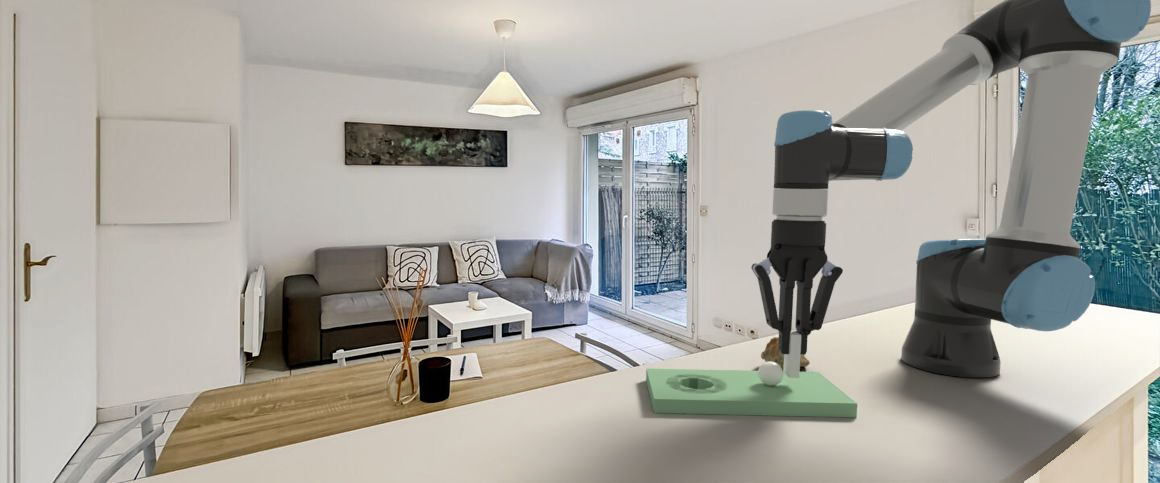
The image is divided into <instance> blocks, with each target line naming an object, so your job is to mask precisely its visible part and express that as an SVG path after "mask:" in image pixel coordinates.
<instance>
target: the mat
mask: <svg viewBox="0 0 1160 483" xmlns="http://www.w3.org/2000/svg"><path fill="white" fill-rule="evenodd" d="M645 370H646V371H645V373H646V374H645V382H646V386H647V390H648V394H649V398H650V403H651V406H653V407H652V409H653V410H654V411H653V413H654V412H655V413H654V414H683V413H684V414H689V415H690V414H691V415H693V414H694V415H732V416H733V415H734V416H735V415H736V416H773V417H775V416H777V417H780V416H781V417H818V418H824V417H825V418H857V414H858V403H857V402H856V401H855V400H854V399H852V397H850V396H849V395H848V394H846V393H845V392H844V391H843V390H841V389H840V388H839V387H838V386H837V385H835V384H834V383H833V382H831V381H830V380H829V379H828V378H827V377H825V375H824V374H822V373H820V371H800V373H799V378H789V377H788V376H787V375H786V374H785V373H784V372H783V379H782V381H781V382H780V383H779V384H777V385H775V386H769V385H766V384H764V383H763V382H762V381H761V380H760V378H759V376H758V370H736V369H735V370H732V369H692V368H691V369H686V368H684V369H683V368H678V369H677V368H645Z"/></svg>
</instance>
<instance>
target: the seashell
mask: <svg viewBox="0 0 1160 483" xmlns="http://www.w3.org/2000/svg"><path fill="white" fill-rule="evenodd" d="M778 342H779V336H778V337H776V336H775V337H774V336H773V337H772V338H771V339H770V340H769V342H767V343H766V345H765V349H764V350H763V351H762V352H761V354H760V358H761V359H762V360H764V361H765V362H768V361H771V362H775V363H777V364H778V365H779V366H780V367H781V368H782V370H783V368H784V354H782V353H781V352H779V349H778ZM765 362H764V363H765ZM810 364H811V361H810V360H809V359H808V358H806V355H803V354H800V368H801V367H808V366H809V365H810Z"/></svg>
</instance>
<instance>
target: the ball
mask: <svg viewBox="0 0 1160 483" xmlns="http://www.w3.org/2000/svg"><path fill="white" fill-rule="evenodd" d="M757 371H758V376H759V378H760V380H761V381H762V382H763V383H764V384H766V385H769V386H775V385H777V384H779V383H780V382H781V381H782V379H783V370H782V368H781V367H780V366H779V365H778V364H777V363H775V362H771V361H768V362H763V363H762V364H760V366H759V367H758V370H757Z"/></svg>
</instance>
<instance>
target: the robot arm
mask: <svg viewBox="0 0 1160 483" xmlns="http://www.w3.org/2000/svg"><path fill="white" fill-rule="evenodd" d="M1151 13H1152V1H1151V0H1003V1H1001V2H999V3H998V4H996V5H995V6H993V7H992V8H990V9H989V10H987V11H986V12H985V13H983V14H981V15H980V16H979V17H977V18H976V19H974V20H973V21H971V22H970V23H969V24H968V25H966V26H964V27H963V28H962V29H960V30H959V31H958V32H956V33H954V34H953V35H952V36H950V37H949V38H948V39H946V40H945V42H944V43H943V45H942V46H941V50H939V51H938V52H937V53H935V54H934V55H933V56H931V57H930V58H928V59H926V60H925V61H924V62H922V63H921V64H919V65H918V66H916V67H915V68H913V69H912V70H910V71H909V72H907V73H905V74H904V75H902V76H901V77H900V78H898V79H897V80H896V81H894V82H893V83H891V84H890V85H888V86H886V87H885V88H884V89H882V90H880V91H879V92H878V93H876V94H875V95H873V96H871V97H870V98H869V99H867V100H866V101H864V102H863V103H862V104H860V105H859V106H857V107H856V108H853V110H851V111H849V112H848V113H846V114H845V115H843V116H842V117H840V118H839V119H838V120H836V121H834V122H833V117H832V114H831V113H830V112H829V111H826V110H824V111H823V110H820V109H819V110H818V109H817V110H815V109H814V110H813V109H807V110H805V109H804V110H793V111H788V112H785V113H783V114H781V115H780V116H779V117H778V120H777V124H776V128H775V137H774V138H775V140H774V145H773V146H774V169H773V170H774V175H773V176H774V177H773V194H772V196H773V197H772V198H773V199H772V215H773V216H774V217H776V218H774V219H773V221H771V233H770V234H771V235H770V249H769V250H768V252H767V255H766V258H765V259H763V260H762V261H760V262H758V263H756V262H755V263H752V265H751V266H750V267H751V270H752V272H753V274H754V275H755V277H756V279H757V282H758V287H759V292H760V297H761V302H762V305H763V306H762V308H763V311H764V316H765V321H766V325H768V326H769V327H770V328H771V329H773V330H776V331H778V337H779V342H778V349H779V352H781V353H782V354H784V368H783V372H784V373H785V374H786V375H787V376H788V377H789V378H799V373H800V372H801V371H800V369H801V367H800V354H803V355H804V356H806V354H807V351H808V339H809V338H808V337H809V336H810V335H811V333H812V332H813V331H820V330H821V329H822V327H823V325H824V321H825V318H826V314H827V311H828V308H829V304H830V301H831V296H832V294H833V291H834V288H835V285H836V282H838V280H839V278H840V277H841V275H842V274H843V271H844V270H843V268H842V267H841V266H836V265H835V264H833V263H832V262H831V261H829V260H828V254H827V252H826V250H825V248H826V236H827V234H826V233H827V223H826V221H825V220H823V218H824V217H827V216H828V195H829V194H828V193H829V183H830V182H831V181H832V182H833V181H857V180H860V181H861V180H862V181H864V180H869V181H870V180H873V181H876V182H878V181H881V182H882V181H884V180H885V181H887V180H888V181H889V180H891V181H892V180H897V179H899V178H901V177H902V176H904V175H905V173H906V172H907V171H908V170H909V168H910V166H911V164H912V162H913V150H914V147H913V143H912V140H911V138H910V136H909V135H908V134H907V133H906V132H905V131H903V130H904V129H905V128H907V127H908V126H910V125H912V124H913V123H914V122H916V121H918V120H919V119H920V118H922V117H923V116H925V115H927V114H928V113H929V112H931V111H932V110H934V109H936V108H937V107H938V106H939V105H942V104H943V103H944V102H945V101H947V100H950V98H952V97H953V96H955V95H957V93H960V92H961V91H962V90H963V89H965V88H967V87H968V86H977V85H981V84H982V83H984V82H986V81H988V80H989V79H990V78H992V77H994V76H996V75H999V74H1001V73H1003V72H1007V71H1008V70H1012V69H1015V68H1019V69H1020V70H1022V72H1024V74H1026V75H1027V82H1026V85H1025V92H1024V98H1023V102H1022V107H1021V114H1020V119H1019V125H1018V129H1017V134H1016V139H1015V145H1014V151H1013V157H1012V161H1011V166H1010V171H1009V177H1008V183H1007V188H1006V191H1005V192H1006V193H1005V198H1004V203H1003V207H1002V208H1003V209H1002V213H1001V219H1000V225H999V226H998V227H997V228H996V229H994V230H993V231H991V232H990V233H988V234H987V235H986V236H985V237H986V238H959V239H958V238H957V239H954V238H953V239H936V240H935V239H934V240H926V241H924V242H923V243H921V245H920V246H919V249H918V253H917V254H918V256H917V259H916V279H915V299H914V300H915V301H914V302H915V305H914V315H913V316H914V317H913V322H912V324H911V326H910V327H909V328H910V329H909V331H908V333H907V335H906V337H905V340H904V342H903V344H902V346H901V356H900V359H901V361H902V362H903V363H905V364H906V365H908V366H910V367H913V368H915V369H919V370H922V371H925V372H929V373H935V374H940V375H944V376H945V375H946V376H952V377H960V378H971V379H972V378H973V379H974V378H975V379H977V378H978V379H979V378H982V379H983V378H993V377H997V376H999V375H1000V374H1001V364H1002V362H1001V358H1000V354H999V351H998V348H997V345H996V340H995V339H994V335H993V332H992V328H991V327H992V321H997V322H1000V323H1004V324H1008V325H1011V326H1012V327H1014V328H1017V329H1024V330H1033V331H1038V332H1054V331H1058V330H1062V329H1064V328H1066V327H1069V326H1070V325H1071V324H1072V323H1073V322H1076V321H1077V320H1079V319H1080V318H1081V317H1082V316H1083V315H1084V313H1086V311H1087V310H1088V308H1090V305H1091V304H1092V303H1091V302H1092V301H1093V298H1094V295H1095V291H1096V281H1095V280H1096V279H1095V276H1094V275H1093V274H1092V270H1091V268H1090V266H1089V265H1088V264H1087V263H1085V262H1084V261H1083V260H1081V259H1079V258H1080V257H1079V256H1080V251H1081V245H1080V244H1079V243H1078V242H1077V241H1076V240H1075V239H1074V237H1072V234H1071V229H1072V224H1073V219H1074V215H1075V208H1076V203H1077V198H1078V193H1079V189H1080V184H1081V183H1080V182H1081V178H1082V172H1083V169H1084V168H1083V167H1084V164H1085V158H1086V152H1087V148H1088V142H1089V138H1090V137H1089V136H1090V132H1091V129H1092V122H1093V117H1094V111H1095V106H1096V102H1097V97H1098V93H1099V92H1098V91H1099V87H1100V81H1101V76H1102V75H1103V74H1104V73H1105V72H1106V71H1109V69H1112V68H1113V67H1114V66H1116V64H1117V63H1118V62H1119V61H1118V60H1119V56H1120V51H1121V45H1122V43H1126V42H1129V41H1130V40H1132V39H1133V38H1135V37H1137V36H1138V35H1139V34H1140V32H1142V31H1143V30H1144V29H1145V27H1146V26H1147V24H1148V22H1149V20H1150V18H1151ZM771 267H772V269H773V270H774V272H775V274H776V275H777V276H778V277H779V278H778V279H779V280H778V282H779V301H778V302H779V303H778V310H777V305H776V302H775V296H774V291H773V285H772V282H771V279H770V274H771V273H772V272H771ZM820 271H821V275H822V276H821V277H820V280H819V283H818V286H817V290H816V293H815V296H814V300H813V303H812V306H811V302H812V300H811V298H812V288H813V286H814V278H815V277H816V276H817V275H818V274H819V272H820ZM795 287H796V307H795V308H796V309H795V324H794V325H795V329H796V330H792V326H793V325H792V324H793V309H794V306H793V305H794V289H795Z"/></svg>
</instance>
